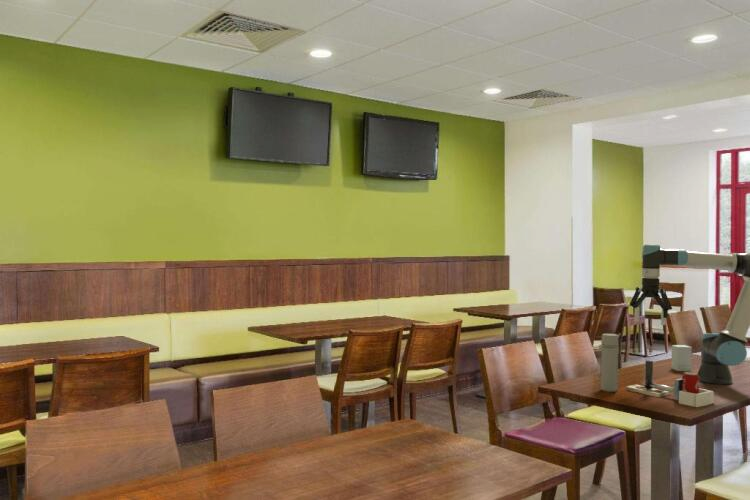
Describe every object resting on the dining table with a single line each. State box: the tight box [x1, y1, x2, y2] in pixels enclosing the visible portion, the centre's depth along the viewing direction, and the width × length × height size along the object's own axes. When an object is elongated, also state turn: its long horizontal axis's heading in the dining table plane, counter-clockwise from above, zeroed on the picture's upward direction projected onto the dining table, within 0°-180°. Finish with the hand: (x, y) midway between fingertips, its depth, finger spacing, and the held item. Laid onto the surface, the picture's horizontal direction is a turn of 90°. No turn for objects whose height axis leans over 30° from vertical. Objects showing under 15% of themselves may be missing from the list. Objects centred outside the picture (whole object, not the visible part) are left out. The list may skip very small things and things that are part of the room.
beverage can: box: [681, 371, 700, 394], centre depth 271 cm, size 6×6×12 cm
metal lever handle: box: [641, 360, 682, 400], centre depth 281 cm, size 18×7×13 cm, turn 34°
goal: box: [678, 387, 715, 408], centre depth 269 cm, size 12×8×5 cm, turn 124°
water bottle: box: [595, 333, 619, 393], centre depth 290 cm, size 9×8×25 cm
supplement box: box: [670, 344, 693, 372], centre depth 339 cm, size 7×7×13 cm
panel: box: [625, 384, 670, 398], centre depth 287 cm, size 8×16×2 cm, turn 34°
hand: (649, 323), depth 303 cm, fingers open, 13 cm apart
